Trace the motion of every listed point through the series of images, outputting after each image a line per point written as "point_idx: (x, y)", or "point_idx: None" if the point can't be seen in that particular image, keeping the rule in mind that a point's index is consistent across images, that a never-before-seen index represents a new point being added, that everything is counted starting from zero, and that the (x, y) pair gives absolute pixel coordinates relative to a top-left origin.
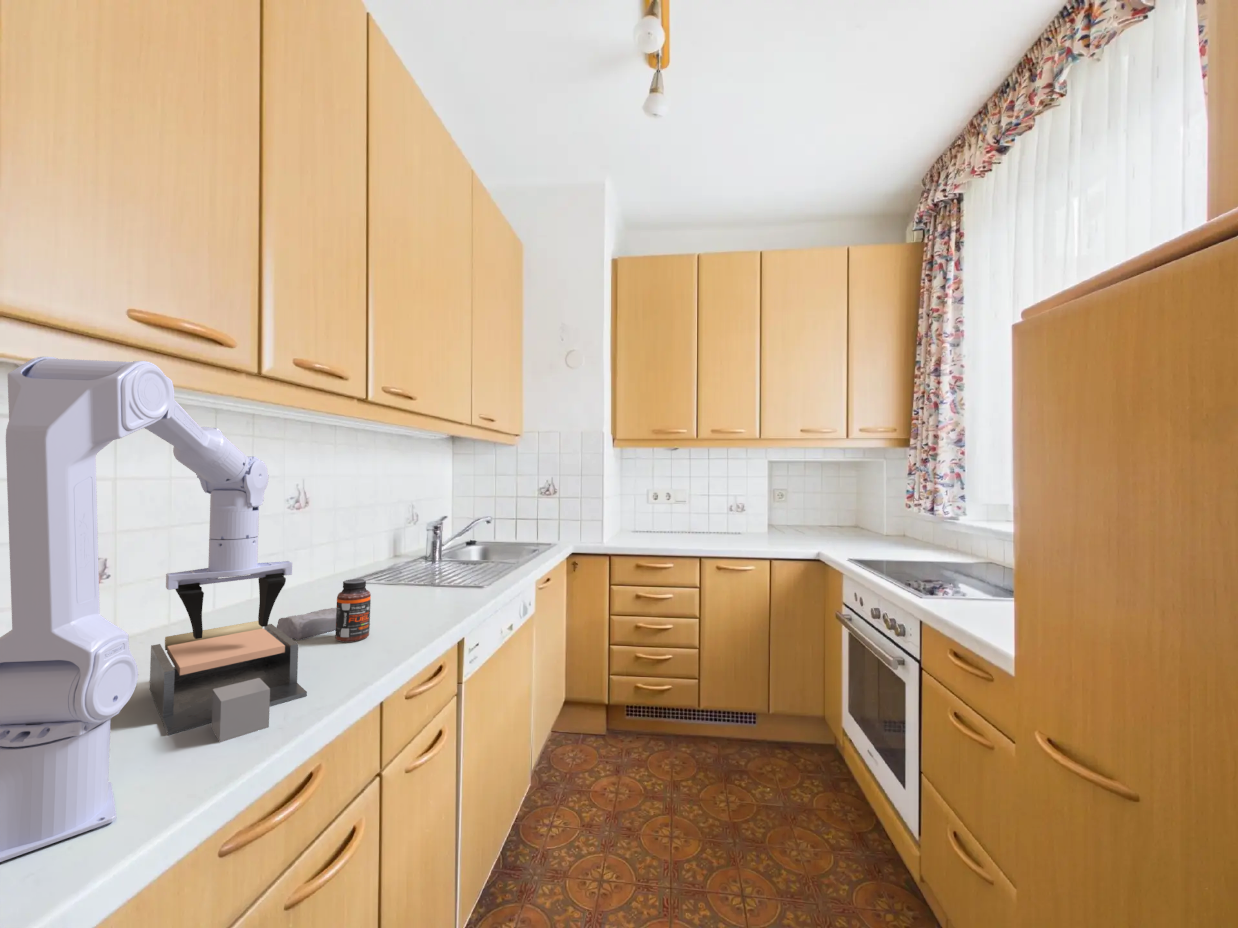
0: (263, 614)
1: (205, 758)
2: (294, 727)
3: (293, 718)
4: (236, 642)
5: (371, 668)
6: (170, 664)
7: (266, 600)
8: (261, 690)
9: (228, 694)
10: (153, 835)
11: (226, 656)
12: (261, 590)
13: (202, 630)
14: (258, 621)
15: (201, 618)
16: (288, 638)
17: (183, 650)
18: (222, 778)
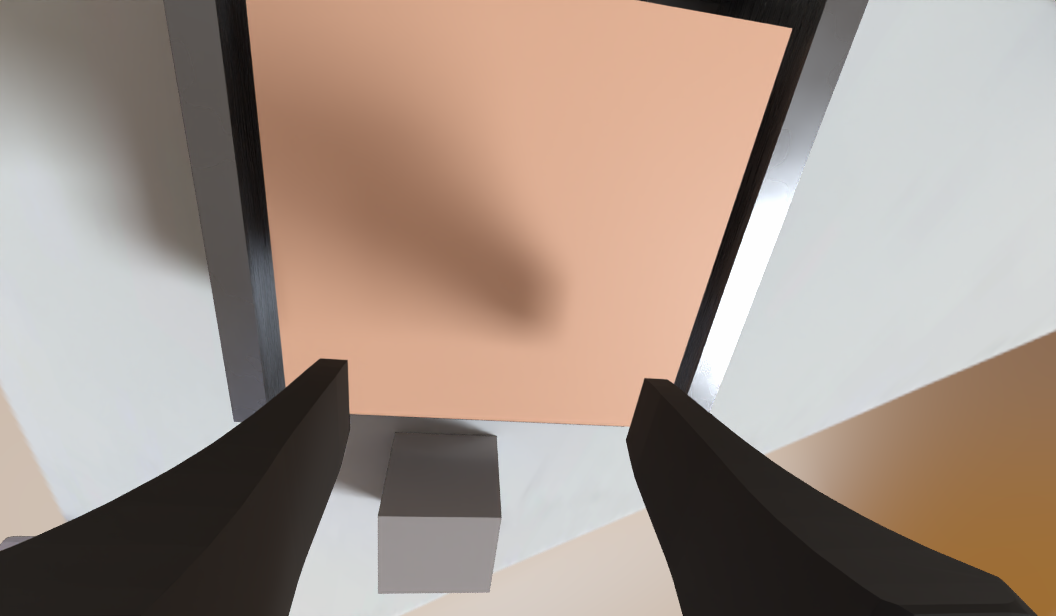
0: (649, 502)
1: (359, 541)
2: (520, 535)
3: (538, 502)
4: (560, 221)
5: (839, 368)
6: (255, 340)
7: (685, 611)
8: (470, 590)
9: (402, 569)
10: None
11: (456, 401)
12: (754, 579)
13: (338, 472)
14: (649, 385)
15: (306, 551)
16: (725, 348)
17: (320, 147)
18: (369, 607)
